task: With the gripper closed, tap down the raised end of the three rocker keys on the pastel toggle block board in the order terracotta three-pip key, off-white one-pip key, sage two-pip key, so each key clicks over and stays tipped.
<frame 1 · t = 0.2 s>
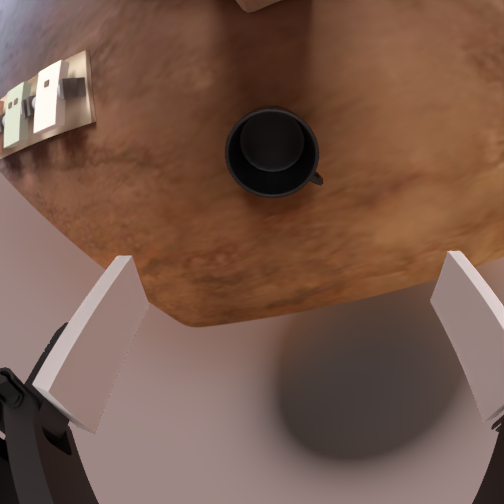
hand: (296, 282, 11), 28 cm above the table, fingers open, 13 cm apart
key one: (50, 96, 26), point 5 cm above the table, hinge at -15.0°
key two: (16, 115, 26), point 5 cm above the table, hinge at -15.0°
pastel toggle block board: (36, 109, 31), on the table
mug: (280, 146, 34), on the table
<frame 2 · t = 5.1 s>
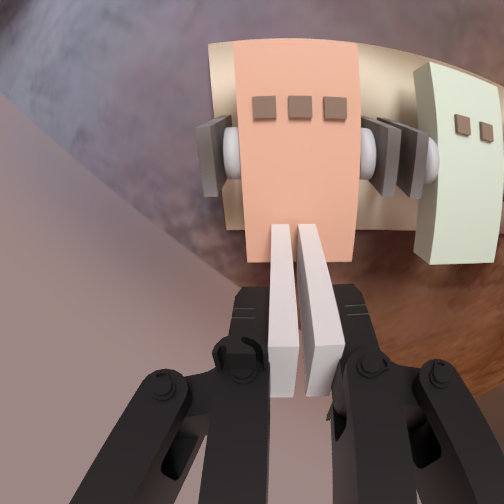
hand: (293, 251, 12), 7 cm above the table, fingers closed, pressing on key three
key three: (299, 151, 11), point 5 cm above the table, hinge at -5.3°, touching gripper
key two: (464, 166, 11), point 5 cm above the table, hinge at -15.0°
pastel toggle block board: (423, 144, 15), on the table
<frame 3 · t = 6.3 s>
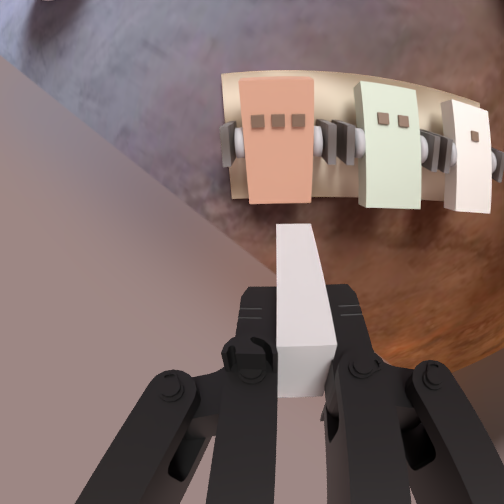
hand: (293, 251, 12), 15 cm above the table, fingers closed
key three: (278, 141, 20), point 5 cm above the table, hinge at 11.1°
key one: (469, 157, 18), point 5 cm above the table, hinge at -15.0°
key two: (389, 145, 19), point 5 cm above the table, hinge at -15.0°
pastel toggle block board: (369, 136, 23), on the table
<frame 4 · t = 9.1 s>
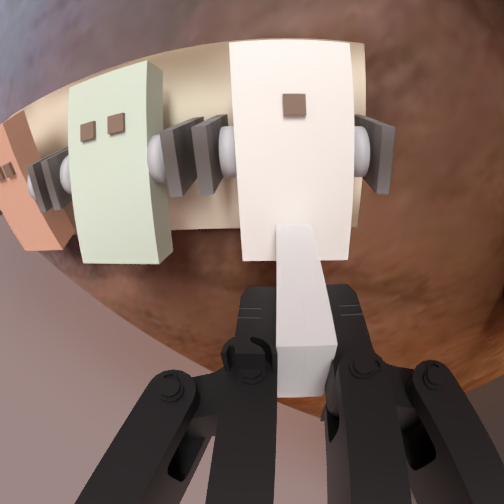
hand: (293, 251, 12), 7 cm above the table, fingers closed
key three: (19, 188, 13), point 5 cm above the table, hinge at 11.6°
key one: (294, 149, 12), point 5 cm above the table, hinge at -7.6°, touching gripper
key two: (114, 165, 13), point 5 cm above the table, hinge at -15.0°
pastel toggle block board: (152, 144, 17), on the table
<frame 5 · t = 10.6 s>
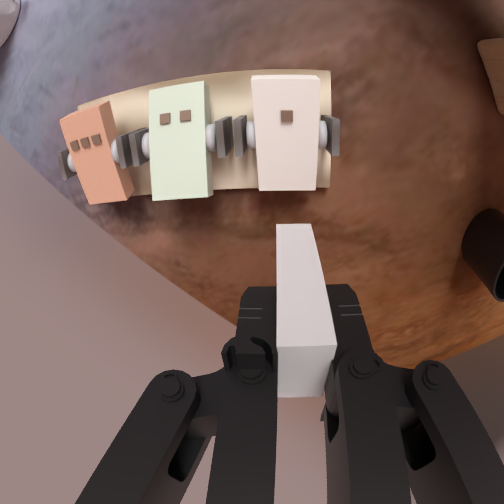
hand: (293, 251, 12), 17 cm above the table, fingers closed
key three: (96, 155, 23), point 5 cm above the table, hinge at 11.6°
mug 2: (7, 17, 14), on the table
key one: (286, 134, 21), point 5 cm above the table, hinge at 14.3°
key two: (179, 141, 22), point 5 cm above the table, hinge at -15.0°
pastel toggle block board: (195, 133, 26), on the table
mug: (486, 240, 30), on the table
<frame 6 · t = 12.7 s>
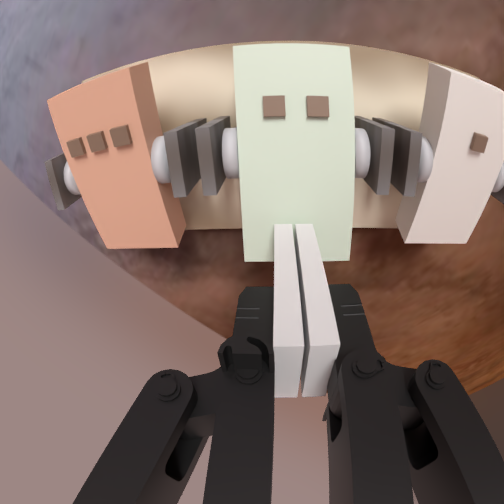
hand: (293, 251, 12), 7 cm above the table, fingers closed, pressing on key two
key three: (118, 166, 13), point 5 cm above the table, hinge at 11.6°
key one: (458, 164, 11), point 5 cm above the table, hinge at 14.6°
key two: (296, 151, 12), point 5 cm above the table, hinge at -9.8°, touching gripper
pastel toggle block board: (290, 134, 16), on the table
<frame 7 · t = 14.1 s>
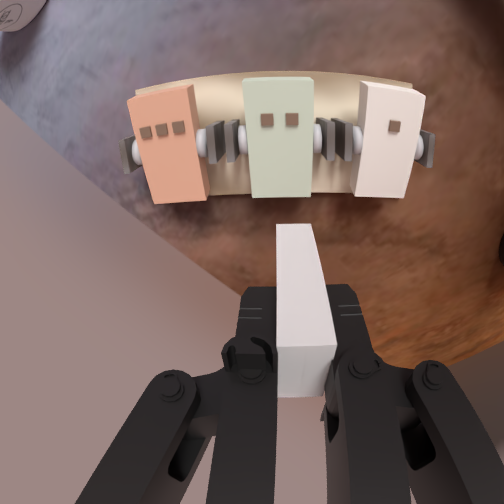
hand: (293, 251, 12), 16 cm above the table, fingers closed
key three: (170, 146, 21), point 5 cm above the table, hinge at 11.6°
key one: (386, 142, 20), point 5 cm above the table, hinge at 14.6°
key two: (279, 138, 20), point 5 cm above the table, hinge at 12.5°
pastel toggle block board: (278, 131, 25), on the table
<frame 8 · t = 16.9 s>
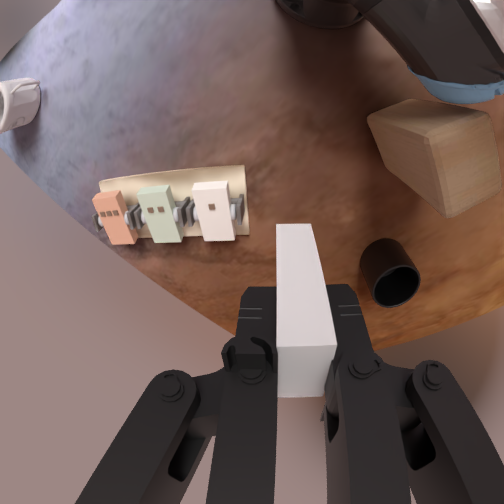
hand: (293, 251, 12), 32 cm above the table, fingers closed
key three: (115, 218, 43), point 5 cm above the table, hinge at 11.6°
mug 2: (30, 97, 35), on the table
key one: (215, 212, 42), point 5 cm above the table, hinge at 14.6°
wooden block: (399, 133, 37), on the table
key two: (161, 215, 43), point 5 cm above the table, hinge at 12.9°
pastel toggle block board: (171, 203, 47), on the table
mug: (385, 261, 50), on the table
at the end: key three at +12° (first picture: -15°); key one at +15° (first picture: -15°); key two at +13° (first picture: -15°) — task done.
